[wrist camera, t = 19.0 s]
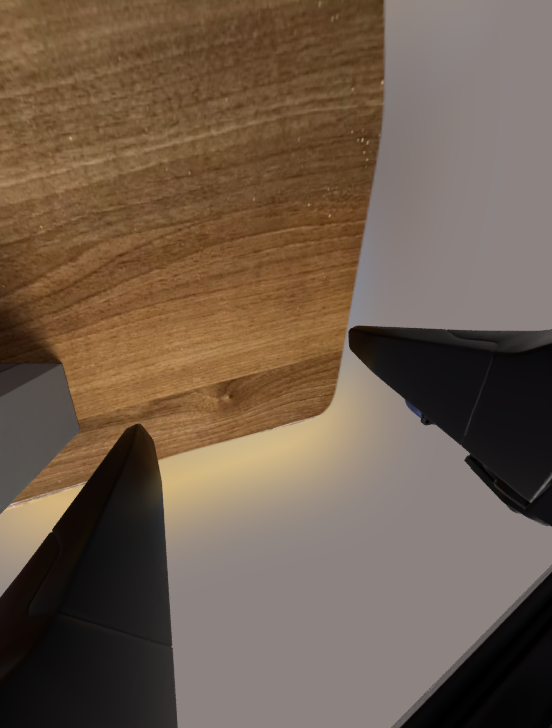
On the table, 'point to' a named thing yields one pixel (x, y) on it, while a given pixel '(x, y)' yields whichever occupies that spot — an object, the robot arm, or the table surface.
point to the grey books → (31, 423)
